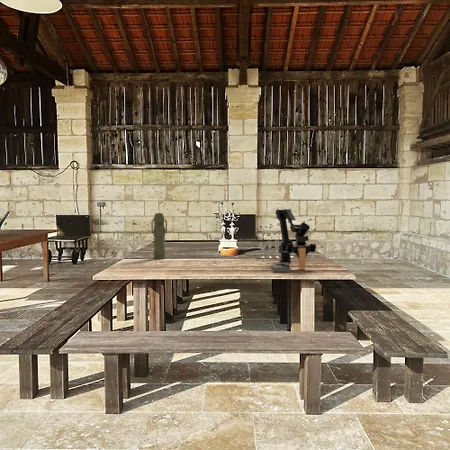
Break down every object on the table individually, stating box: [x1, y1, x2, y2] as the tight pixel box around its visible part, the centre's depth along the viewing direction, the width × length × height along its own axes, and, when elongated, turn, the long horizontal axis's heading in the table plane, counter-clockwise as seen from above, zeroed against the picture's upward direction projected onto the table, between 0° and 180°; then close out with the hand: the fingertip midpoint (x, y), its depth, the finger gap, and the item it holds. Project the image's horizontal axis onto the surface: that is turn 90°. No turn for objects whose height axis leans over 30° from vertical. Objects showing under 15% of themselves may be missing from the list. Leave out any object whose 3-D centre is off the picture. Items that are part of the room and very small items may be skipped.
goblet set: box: [258, 239, 296, 259], centre depth 314 cm, size 28×6×13 cm, turn 92°
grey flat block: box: [271, 261, 291, 273], centre depth 259 cm, size 20×10×3 cm, turn 176°
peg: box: [297, 248, 307, 269], centre depth 261 cm, size 4×4×13 cm
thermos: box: [150, 212, 168, 260], centre depth 309 cm, size 9×12×35 cm
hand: (302, 258), depth 259 cm, fingers closed on peg, 4 cm apart
